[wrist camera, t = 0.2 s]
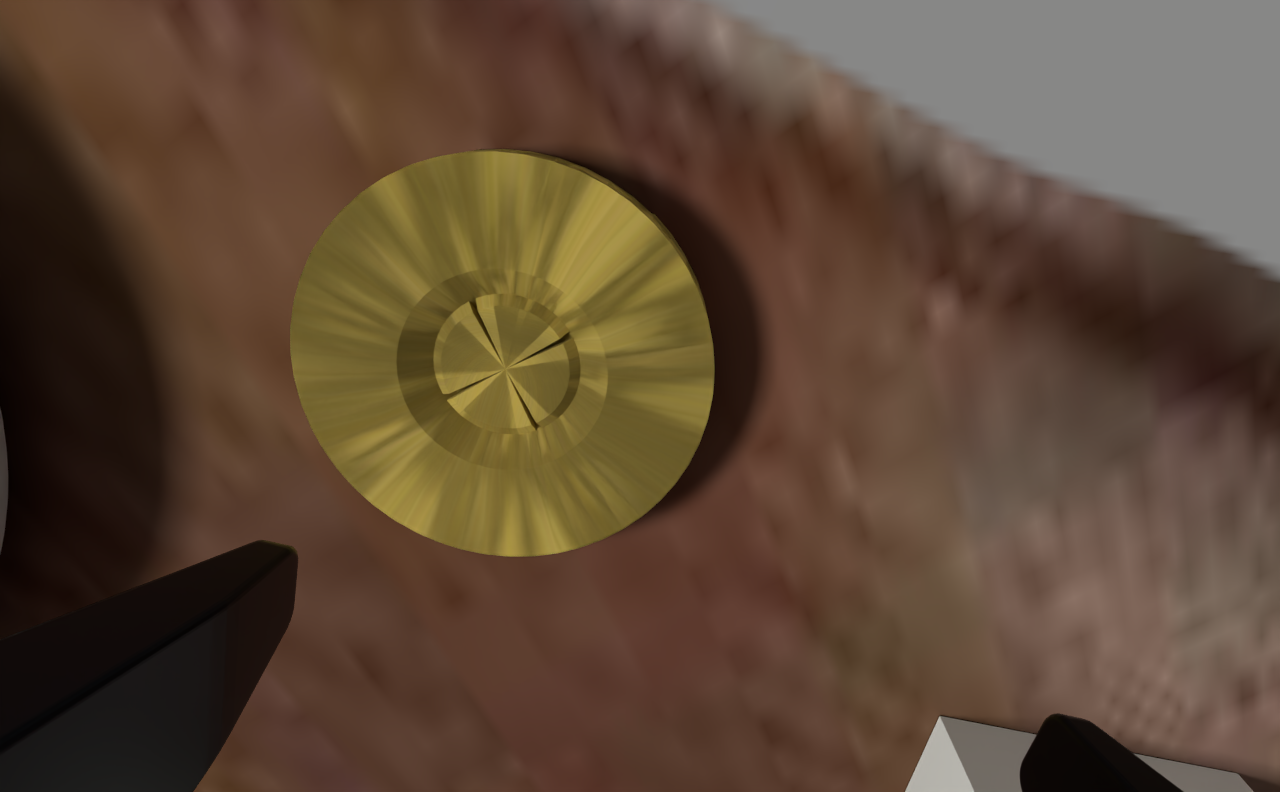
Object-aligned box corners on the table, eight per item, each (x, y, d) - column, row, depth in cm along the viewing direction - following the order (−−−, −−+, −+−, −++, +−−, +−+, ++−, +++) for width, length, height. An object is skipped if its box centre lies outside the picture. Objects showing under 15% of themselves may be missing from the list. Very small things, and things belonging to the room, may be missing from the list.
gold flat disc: (292, 454, 25) (258, 484, 22) (369, 84, 20) (336, 80, 18) (633, 564, 26) (631, 603, 24) (772, 234, 22) (783, 247, 19)
